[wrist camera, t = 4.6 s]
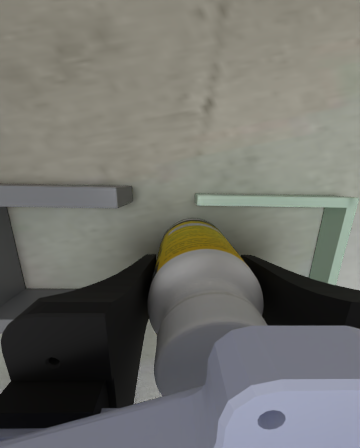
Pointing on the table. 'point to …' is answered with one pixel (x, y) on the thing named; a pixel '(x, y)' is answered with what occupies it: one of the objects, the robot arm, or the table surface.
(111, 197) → the frame
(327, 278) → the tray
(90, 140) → the table surface
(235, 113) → the table surface
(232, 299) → the supplement bottle
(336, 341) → the robot arm
